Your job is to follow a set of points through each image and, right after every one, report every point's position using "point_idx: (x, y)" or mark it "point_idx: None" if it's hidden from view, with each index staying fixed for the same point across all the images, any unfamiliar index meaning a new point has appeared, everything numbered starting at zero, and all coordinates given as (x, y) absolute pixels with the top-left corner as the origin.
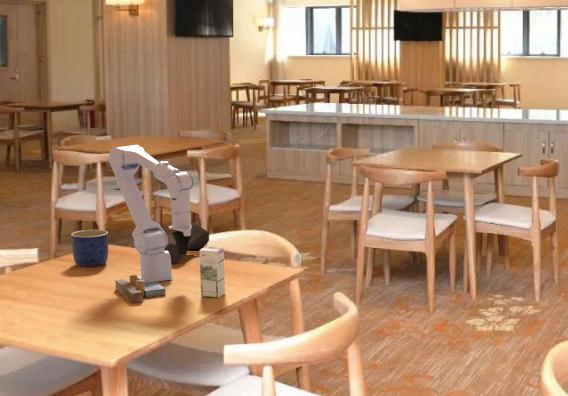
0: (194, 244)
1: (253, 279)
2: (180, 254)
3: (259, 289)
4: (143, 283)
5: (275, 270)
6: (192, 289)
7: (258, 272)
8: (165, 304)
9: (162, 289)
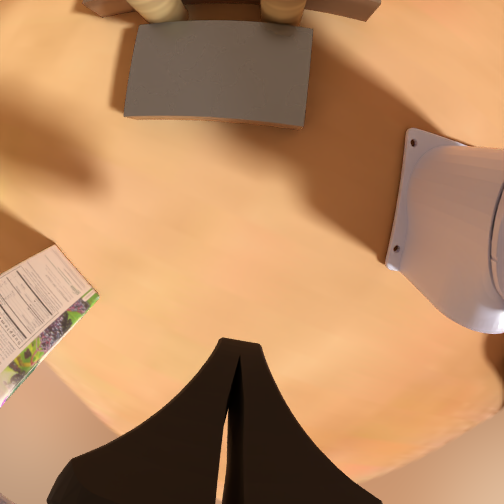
0: None
1: None
2: (216, 346)
3: (95, 409)
4: (129, 3)
5: None
6: (170, 267)
7: None
8: (34, 92)
9: (126, 104)
